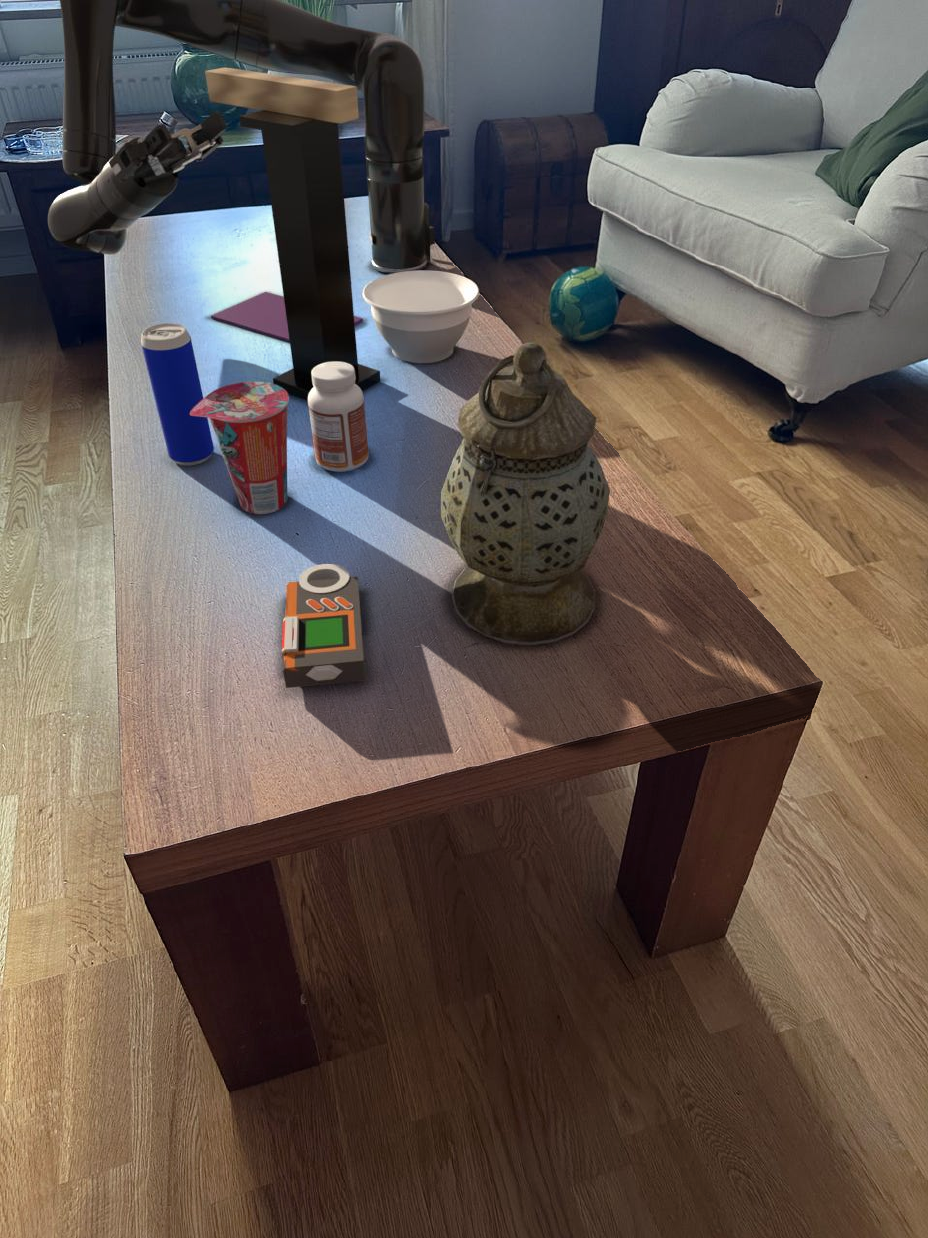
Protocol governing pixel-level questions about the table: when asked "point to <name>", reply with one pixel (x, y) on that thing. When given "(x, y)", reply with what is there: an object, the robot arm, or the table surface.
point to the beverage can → (177, 392)
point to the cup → (251, 440)
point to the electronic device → (323, 628)
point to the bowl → (421, 312)
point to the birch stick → (283, 94)
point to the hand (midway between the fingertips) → (194, 125)
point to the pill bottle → (337, 417)
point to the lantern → (524, 504)
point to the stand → (310, 245)
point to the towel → (261, 315)
